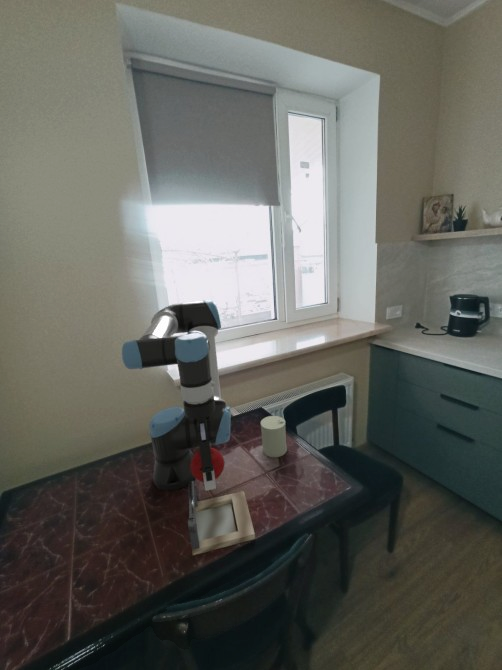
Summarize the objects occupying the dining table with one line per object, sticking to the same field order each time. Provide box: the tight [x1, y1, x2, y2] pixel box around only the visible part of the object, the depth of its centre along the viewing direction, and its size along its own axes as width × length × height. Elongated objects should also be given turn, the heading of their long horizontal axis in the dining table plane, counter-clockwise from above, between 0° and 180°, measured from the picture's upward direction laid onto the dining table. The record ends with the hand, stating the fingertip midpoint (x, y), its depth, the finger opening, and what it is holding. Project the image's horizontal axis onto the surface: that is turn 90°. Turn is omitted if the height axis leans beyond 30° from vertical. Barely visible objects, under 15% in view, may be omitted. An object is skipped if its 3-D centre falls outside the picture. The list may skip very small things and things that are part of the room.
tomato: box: [190, 447, 225, 483], centre depth 76 cm, size 9×9×8 cm
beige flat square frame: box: [191, 490, 256, 556], centre depth 81 cm, size 16×15×2 cm
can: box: [260, 415, 288, 458], centre depth 109 cm, size 9×9×12 cm
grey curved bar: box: [187, 480, 200, 551], centre depth 78 cm, size 2×17×9 cm, turn 12°
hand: (209, 475), depth 77 cm, fingers closed on tomato, 9 cm apart
